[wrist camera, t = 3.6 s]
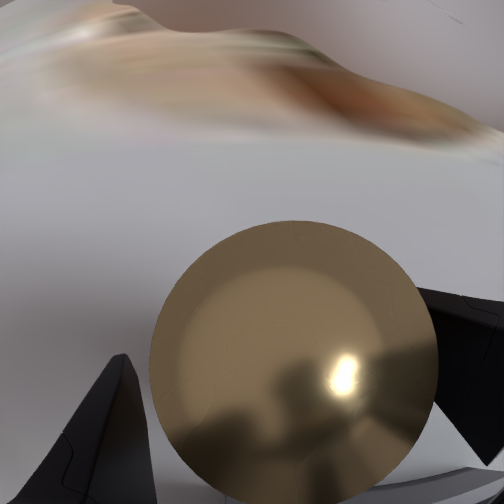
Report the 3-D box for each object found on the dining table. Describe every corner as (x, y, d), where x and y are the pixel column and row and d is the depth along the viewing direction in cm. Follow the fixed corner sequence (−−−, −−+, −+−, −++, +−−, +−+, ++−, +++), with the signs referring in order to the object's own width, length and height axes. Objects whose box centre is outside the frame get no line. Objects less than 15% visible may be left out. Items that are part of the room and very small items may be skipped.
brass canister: (288, 431, 14) (420, 495, 4) (184, 417, 14) (128, 487, 4) (301, 335, 16) (434, 249, 6) (202, 319, 16) (187, 197, 6)
